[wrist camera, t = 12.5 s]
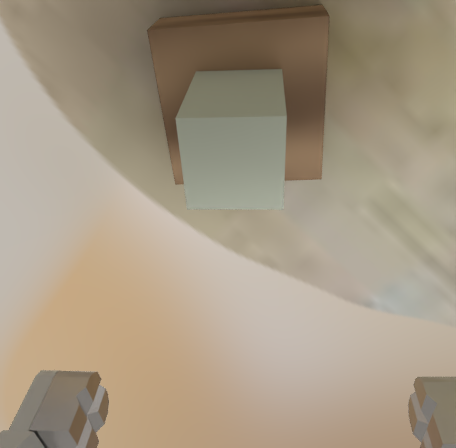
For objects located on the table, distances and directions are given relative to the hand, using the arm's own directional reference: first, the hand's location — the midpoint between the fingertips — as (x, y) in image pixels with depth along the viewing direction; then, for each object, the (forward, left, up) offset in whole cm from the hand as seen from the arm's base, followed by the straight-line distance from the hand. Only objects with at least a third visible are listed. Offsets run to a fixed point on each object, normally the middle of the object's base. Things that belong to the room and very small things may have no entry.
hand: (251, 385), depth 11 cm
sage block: (0, -1, -19) cm, 19 cm away
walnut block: (0, -1, -23) cm, 23 cm away
